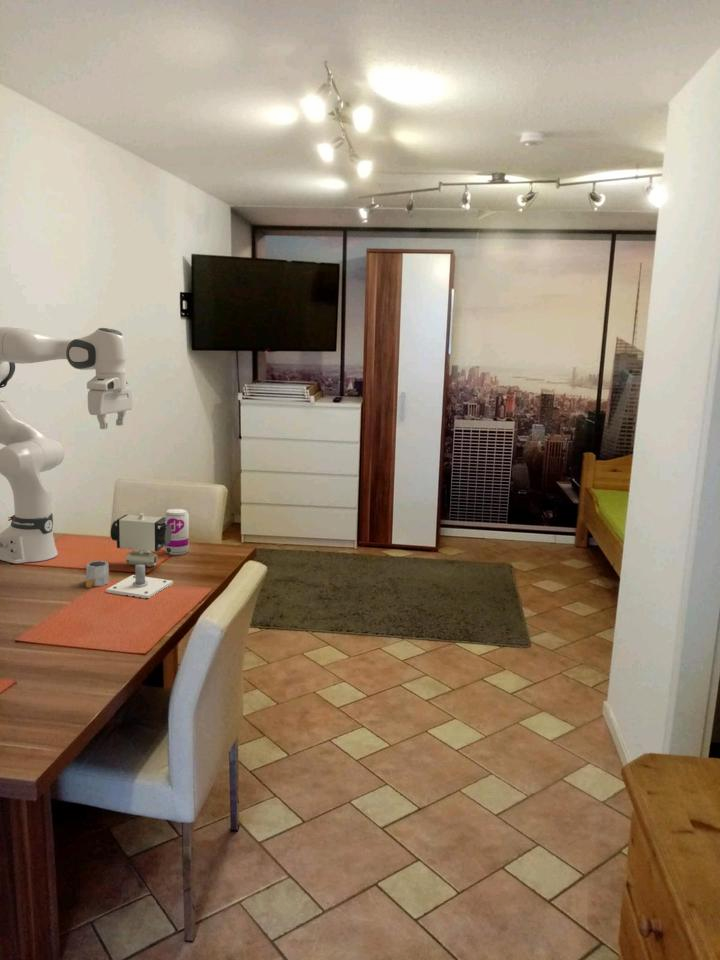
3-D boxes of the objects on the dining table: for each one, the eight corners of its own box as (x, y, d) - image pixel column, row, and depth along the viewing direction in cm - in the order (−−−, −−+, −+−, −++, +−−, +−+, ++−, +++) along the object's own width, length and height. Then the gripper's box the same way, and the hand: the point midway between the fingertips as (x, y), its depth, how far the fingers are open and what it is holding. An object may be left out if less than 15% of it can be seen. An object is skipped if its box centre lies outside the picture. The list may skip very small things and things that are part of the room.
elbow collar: (95, 578, 226) (94, 559, 225) (112, 581, 224) (112, 562, 223) (79, 586, 218) (78, 567, 217) (96, 589, 217) (96, 569, 216)
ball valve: (173, 563, 244) (173, 511, 240) (164, 571, 235) (164, 518, 232) (121, 559, 245) (120, 507, 242) (110, 566, 237) (109, 514, 234)
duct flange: (106, 592, 215) (105, 569, 213) (132, 577, 228) (132, 556, 227) (148, 599, 211) (148, 576, 210) (173, 583, 225) (173, 562, 223)
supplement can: (185, 556, 252) (185, 514, 249) (161, 555, 252) (161, 513, 249) (191, 549, 260) (191, 508, 257) (168, 548, 260) (168, 507, 257)
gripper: (119, 379, 234) (119, 422, 237) (83, 383, 214) (84, 430, 217) (137, 381, 233) (137, 424, 236) (102, 385, 213) (103, 431, 216)
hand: (111, 427), depth 226 cm, fingers open, 8 cm apart
